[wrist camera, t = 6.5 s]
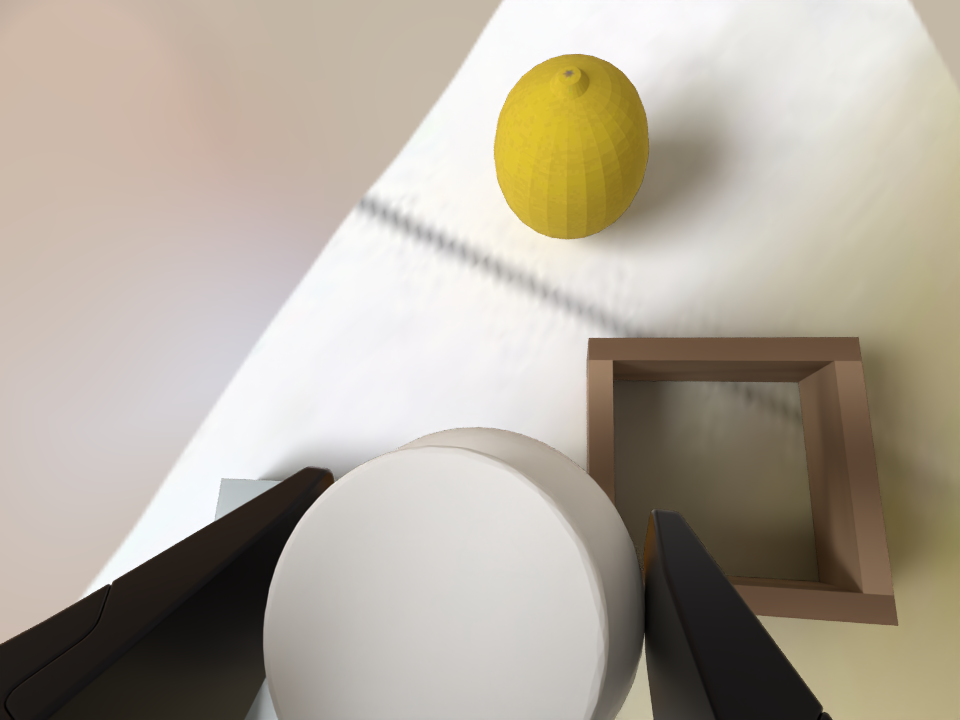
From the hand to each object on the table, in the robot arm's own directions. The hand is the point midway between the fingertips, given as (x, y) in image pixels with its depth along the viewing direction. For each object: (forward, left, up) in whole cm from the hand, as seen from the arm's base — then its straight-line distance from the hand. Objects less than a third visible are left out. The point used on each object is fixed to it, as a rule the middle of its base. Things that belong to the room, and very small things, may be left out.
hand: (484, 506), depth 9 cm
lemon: (+13, -1, -13) cm, 18 cm away
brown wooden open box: (+2, -6, -12) cm, 14 cm away
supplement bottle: (-1, 0, -7) cm, 7 cm away
